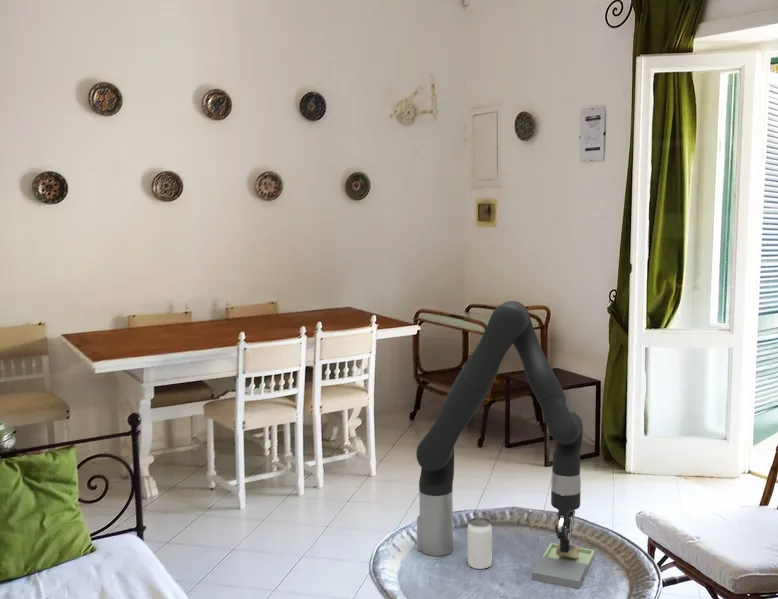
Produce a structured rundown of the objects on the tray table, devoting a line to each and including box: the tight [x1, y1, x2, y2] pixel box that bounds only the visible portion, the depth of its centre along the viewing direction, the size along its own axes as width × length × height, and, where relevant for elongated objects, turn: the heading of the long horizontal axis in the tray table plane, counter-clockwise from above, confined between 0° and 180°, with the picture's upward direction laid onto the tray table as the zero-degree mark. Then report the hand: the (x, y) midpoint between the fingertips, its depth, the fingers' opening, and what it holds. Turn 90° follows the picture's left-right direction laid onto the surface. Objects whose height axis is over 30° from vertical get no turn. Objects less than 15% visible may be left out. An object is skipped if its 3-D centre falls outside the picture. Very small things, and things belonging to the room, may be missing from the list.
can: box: [466, 516, 493, 570], centre depth 217 cm, size 6×6×12 cm
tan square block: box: [556, 542, 581, 558], centre depth 219 cm, size 5×5×3 cm
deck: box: [531, 556, 588, 589], centre depth 211 cm, size 12×10×2 cm
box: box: [543, 542, 596, 571], centre depth 220 cm, size 12×10×2 cm
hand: (564, 551), depth 216 cm, fingers closed
